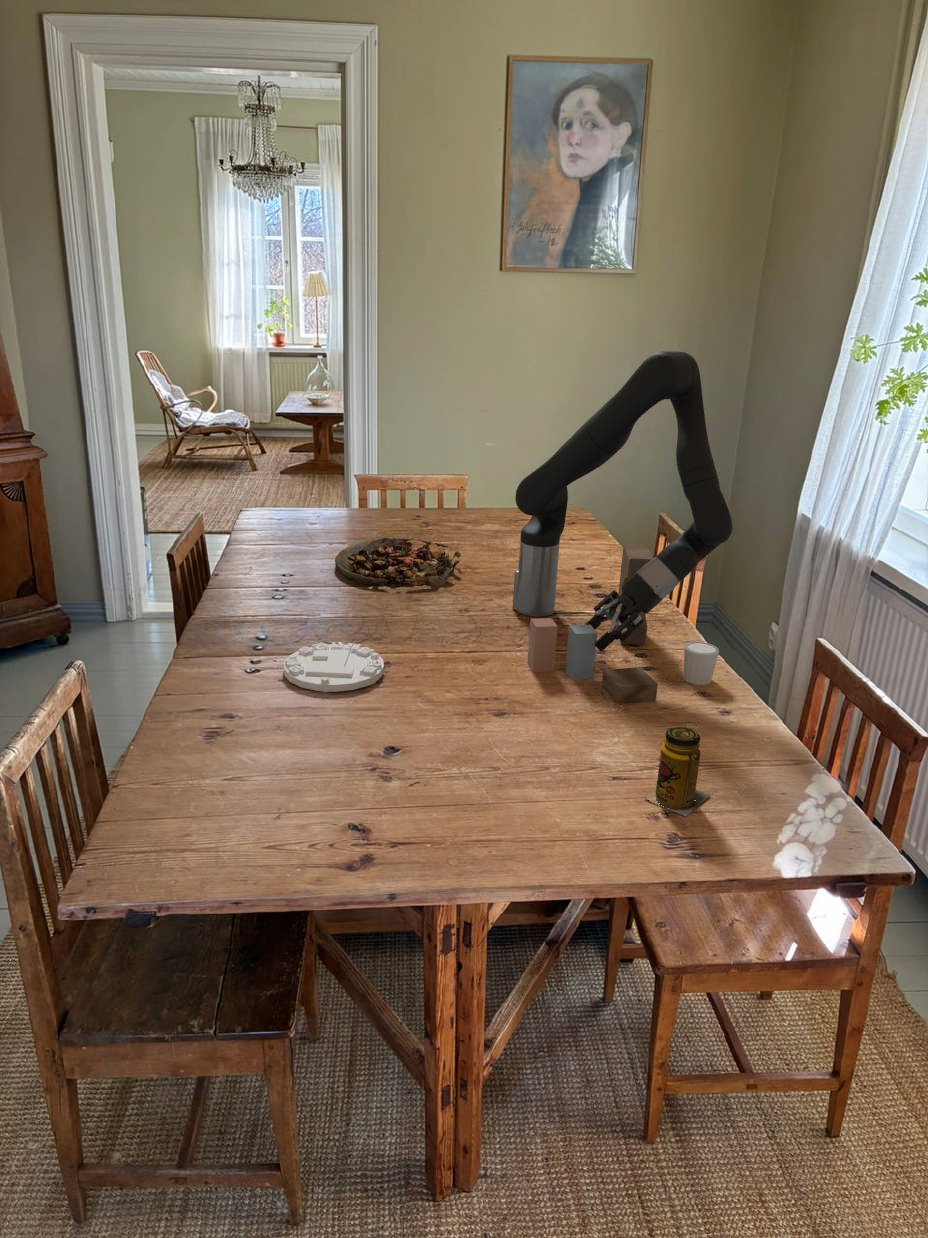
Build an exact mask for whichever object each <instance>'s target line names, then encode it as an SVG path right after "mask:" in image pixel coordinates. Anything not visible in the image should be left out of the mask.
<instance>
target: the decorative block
mask: <svg viewBox="0 0 928 1238" xmlns="http://www.w3.org/2000/svg"><path fill="white" fill-rule="evenodd" d="M653 558H654V556H653V555H652V552H651V550H650V548H649V547H648V546H647V545H646V544H643V545H641V544H624V545H623V548H622V557H621V567H620V575H619V584H618V592H617V593H618V594H619V595H622V594H623V593H624V591H623V590H622V585H623V584H625V583H626V582H627V581H628V580H629V579H630V578H631V577H632V576H633V575H634V574H635V573H637V572H638V571H639V570H640V569H641V568H642V567H643V566H644V565H645V564H646V563H648V562H649V561H651V560H652V559H653ZM646 614H647V613H644V612H643V611H641V612H640V613H639V615H640V616H641V617H642V619H643V620H644V622H643V623H642V624H641V625H640V626H639V627H638V628H637V629H636V630H635V631H634V632H633V633H632V634H631V635H630V636H629V637H628V638H627V639H625V640H624V641H621V640H620V639H619V642H620V644H621V645H625V646H627V645H630V646H645V645H646V641H647V632H648V631H647V630H648V624H647V616H646ZM631 625H632V624H631ZM616 629H617V628H616ZM616 629H615V630H616ZM627 630H628V629H627ZM627 630H626V631H627ZM626 631H624V632H623V634H624V633H625V632H626Z"/></svg>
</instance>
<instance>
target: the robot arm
mask: <svg viewBox="0 0 928 1238" xmlns="http://www.w3.org/2000/svg"><path fill="white" fill-rule="evenodd" d="M698 365H699V364H698V363H697V360H696V359H695V358H694V357H693V355H692V354H689V353H687V352H686V351H685V352H683V351H679V350H678V351H672V350H671V351H667V350H665V351H658V352H654V353H653V354H651V355H649V356H647V357H646V359H645V360H643V362H642V363H641V364H640V365H639V367H637V369H636V370H635V371H634V372H633V373H632V375H631V376H630V377H629V379H627V381H626V382H625V383H624V385H622V387H621V388H620V389H619V390H618V391H617V392H616V393H615V394H614V395H613V396H612V397H611V398H610V399H608V401H607V402H605V404H603V405H602V406H601V408H599V409H598V411H596V412H595V413H594V414H593V415H592V416H591V417H590V418H588V419H587V420H586V421H585V422H584V423H583V425H581V426H580V427H579V428H578V429H577V430H576V431H575V433H574V434H573V435H571V437H570V438H568V440H566V441H565V443H563V445H561V446H560V447H559V449H558V450H556V452H555V453H554V454H553V455H552V456H551V457H549V459H548V460H546V461H545V462H544V463H543V464H541V465H540V466H539V467H538V468H536V469H535V470H533V471H532V472H531V473H529V474H528V475H527V476H526V477H524V478H523V479H522V480H521V481H520V482H519V484H518V486H517V488H516V491H515V504H516V506H517V508H518V509H519V510H520V512H521V513H523V514H524V515H526V516H527V515H528V516H531V517H530V519H529V521H528V522H527V523H526V524H525V525H524V526H522V528H521V530H520V539H519V556H518V569H517V570H515V571H514V579H513V593H512V595H513V596H512V610H515V611H516V612H518V613H520V614H521V615H524V616H527V617H528V616H529V617H538V618H539V617H540V618H541V617H547V616H550V615H552V614H554V612H555V606H556V591H557V582H558V581H557V579H558V568H559V555H560V554H559V553H560V545H561V544H560V541H561V536H562V535H563V532H564V529H565V526H566V525H565V524H566V517H567V508H568V501H569V491H568V486H569V485H571V484H572V483H574V482H575V481H577V480H579V479H581V478H582V477H584V476H587V475H588V474H590V473H592V472H593V471H595V470H597V469H598V468H601V466H603V465H604V464H605V463H607V462H608V461H609V460H610V459H611V458H613V456H615V455H616V454H617V453H618V452H619V451H620V450H621V449H622V448H623V447H624V446H625V445H626V443H627V442H628V439H629V438H630V436H631V433H632V431H633V429H634V426H635V425H636V423H637V422H638V420H639V419H641V417H642V416H643V415H644V414H645V413H646V412H648V411H649V410H651V408H653V407H654V406H656V405H657V404H658V403H661V402H662V401H665V400H670V402H671V405H672V408H673V410H674V413H675V417H676V422H677V423H676V424H677V441H676V450H675V457H676V458H675V459H676V467H677V471H678V476H679V479H680V482H681V486H682V490H683V493H684V496H685V498H686V500H687V501H688V503H689V506H690V510H691V514H692V517H693V522H692V523H691V524H690V525H689V526H688V527H687V528H686V529H685V530H683V532H682V533H681V534H680V535H679V536H678V537H677V538H676V539H675V540H673V541H672V542H670V543H669V544H668V545H666V546H665V547H664V548H663V549H662V550H661V551H660V552H659V553H658V554H657V555H656V556H654V557H653V559H652V560H651V561H649V562H648V563H646V564H645V565H644V566H643V567H642V568H641V569H640V570H639V571H638V572H637V573H635V574H634V575H633V576H632V577H631V578H630V579H629V580H628V581H627V582H626V583H625V584H623V585H622V590H623V591H624V593H623V594H622V595H619V594H618V593H619V592H617V590H615V589H614V590H612V591H611V592H610V593H609V594H607V595H606V597H604V598H603V599H602V600H600V601H599V602H598V603H597V604H596V605H595V606H594V607H593V611H594V613H593V616H592V617H591V618H590V619H589V620H587V622H585V624H584V625H591V626H592V627H593V628H594V630H595V631H596V629H598V628H599V627H600V626H601V625H602V623H605V622H607V621H611V626H610V627H609V630H608V631H606V632H604V634H603V635H601V636H600V637H599V638H597V641H596V642H595V643H594V645H595V646H596V649H598V650H599V651H600V652H603V651H604V650H606V648H608V647H609V646H610V645H611V644H612V643H613V642H614V641H618V640H619V639H620V640H621V641H624V640H625V639H627V638H628V637H629V636H630V635H631V634H632V633H633V632H634V631H635V630H636V629H637V628H638V627H639V626H640V625H641V624H642V623H643V622H644V620H643V619H642V617H641V616H640V615H639V613H640V612H641V611H643V612H644V613H646V614H649V613H650V612H651V611H652V610H653V609H654V608H655V607H657V605H659V604H660V603H661V602H662V601H663V600H664V599H665V598H666V597H668V595H670V594H671V592H673V591H674V590H675V588H676V587H677V586H678V585H679V584H680V583H681V582H682V581H683V580H684V579H685V578H686V577H687V576H688V575H689V574H691V572H692V571H693V570H695V568H696V567H697V566H698V565H699V563H700V562H701V561H702V560H703V559H705V558H706V557H707V556H708V555H710V554H711V553H712V552H713V551H714V550H715V549H716V548H717V547H719V546H720V545H722V544H723V543H725V542H726V541H728V539H729V538H730V537H731V535H732V534H733V533H732V532H733V520H732V516H731V513H730V509H729V507H728V505H727V502H726V499H725V498H724V494H723V492H722V491H721V485H720V481H719V480H720V479H719V478H718V477H719V476H718V472H717V468H716V466H715V461H714V459H713V458H714V457H713V454H712V450H711V447H710V441H709V437H708V430H707V423H706V417H705V416H706V415H705V407H704V400H703V389H702V381H701V374H700V369H699V368H700V367H699V366H698ZM631 624H632V625H631ZM616 628H617V629H616ZM627 629H628V630H627ZM626 630H627V631H626ZM624 631H626V632H625V633H624V634H623V632H624ZM620 640H619V641H620Z"/></svg>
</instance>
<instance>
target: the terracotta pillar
mask: <svg viewBox="0 0 928 1238" xmlns="http://www.w3.org/2000/svg"><path fill="white" fill-rule="evenodd" d="M529 621H530V622H529V633H528V635H529V636H528V648H527V649H528V651H527V665H528V667H529V668H530V671H531V672H532V673H537V672H538V673H541V672H542V673H544V672H546V673H547V672H554V671H555V660H556V650H557V649H556V647H557V635H558V625H557V624H556V622H555V621H554V620H553V618H552V617H547V618H544V617H543V618H541V617H540V618H530V620H529Z"/></svg>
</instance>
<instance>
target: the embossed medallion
mask: <svg viewBox="0 0 928 1238" xmlns="http://www.w3.org/2000/svg"><path fill="white" fill-rule="evenodd" d="M283 672H284V673H283V675H284V676H285V678H286V679H287V681H289V682H290V683H291V684H294V685H295V686H298V687H299V688H303V689H306V690H313V691H316V692H323V693H325V694H327V693H330V692H332V693H333V692H335V693H336V692H346V691H354V690H357V689H361V688H366V687H369V686H371V685H374V684H376V683H377V682H378V681H379V680H380V679H381V678H382V676H383V675H384V673H385V664H384V659H383V658H382V657H381V655H380V653H378V652H375V649H373V648H371V649H370V647H367V646H362V644H361V643H351V642H347V644H344V643H343V642H342V641H338V643H336V642H331V644H328V643H324V642H319V643H314V644H311V646H310V647H309V646H302V647H300V648H299V649H298V650H297V651H296V652H293V653H292V654H289V655H288V657H287V658H286V659H285V660H284V664H283Z"/></svg>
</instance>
